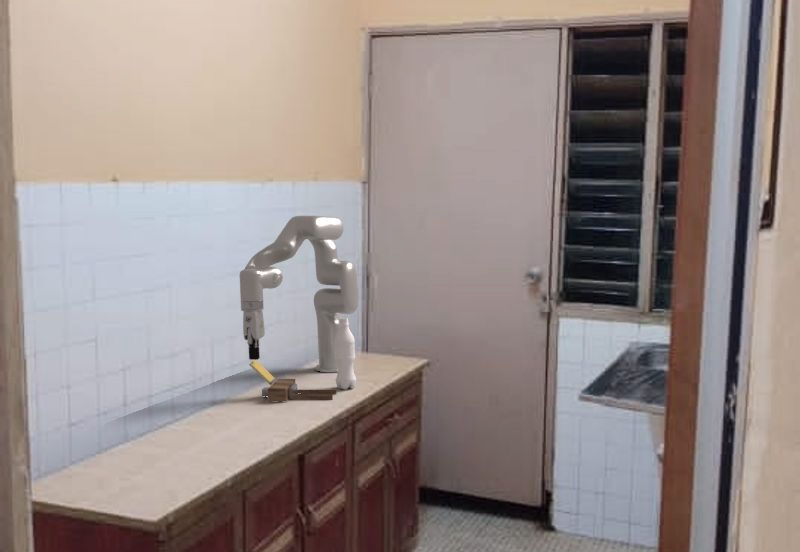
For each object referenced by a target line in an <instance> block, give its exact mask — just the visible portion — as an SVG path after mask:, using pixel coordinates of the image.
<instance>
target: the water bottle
mask: <svg viewBox="0 0 800 552" xmlns="http://www.w3.org/2000/svg"><path fill="white" fill-rule="evenodd" d="M339 320H340V322H339V323H340V324H339V325H340V327H339V330H338V333H337V335H336V337H335V341H334V343H335V358H336V361H337V365H338V372H337V375H336V379H335V383H336V387H337V388H338V390H341V389H342V390H344V391H346V390H347V391H348V389H349V388H350V389H354V388H355V386H356V384H357V377H356V374H355V371H354V362H355V359H356V349H355V348H356V346H355V342H356V340H355V337H354V335H353V333H352V332H351V330H350V327H349V325H350V323H349V318H348V317H347V316H345V317H343V316H342V317H340V319H339Z"/></svg>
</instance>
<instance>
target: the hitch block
mask: <svg viewBox="0 0 800 552" xmlns="http://www.w3.org/2000/svg"><path fill="white" fill-rule="evenodd" d="M293 384H296V378H277V380H276V381H275V382H274V383H273V384H272V385H269V388H268V398H267V399H268V402H269V401H287V400H288V399H289V387H291V386H292V385H293ZM297 392H298V393H301V394H298V395H291V399H310V400H309V401H312V400H314V401H315V400H321V401H324V400H325V401H326V400H327V401H328V400H333V399H334V398H333V397H334V396H333V395H337V389H297ZM291 399H289V400H291ZM289 400H288V401H289ZM288 401H287V402H288Z"/></svg>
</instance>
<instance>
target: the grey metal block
mask: <svg viewBox="0 0 800 552" xmlns="http://www.w3.org/2000/svg"><path fill="white" fill-rule="evenodd" d="M269 387H270V386H269ZM269 387H267V386H266V387H263V388H262V389H261V397H262V396H265V397H266V396H268V388H269ZM297 390H298V383H295V384H293V385H292V386H291V387H289V398H291V395H297V394H298V392H297ZM298 395H299V394H298Z"/></svg>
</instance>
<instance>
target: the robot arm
mask: <svg viewBox="0 0 800 552" xmlns="http://www.w3.org/2000/svg"><path fill="white" fill-rule="evenodd" d="M343 233H344V224H343V221H342V220H341V219H340V218H338V217H337V216H321V215H296V216H292V217H291V218H290V219H289V220H288V221H287V223H286V224H285V225H284V228H282V230H281V231H280V233H279V235H278V236H277V238H276V239H275V240H274V241H273V242H272V243H271V244H269V245H267V246H265V247H264V248H263V249H261V250H259V251H257V252H256V253H255V254H254V255H253V256H252V257H251V258H250V260H249V261H248V263H247V264H246V266H245V268H244V269H242V270H241V271H239V293H240V295H239V297H240V311H241V312H243V313H242V314H243V315H242V316H243V317H242V325H243V326H242V329H243V333H242V334H243V339H244V340H245V341H247V342H246V343H247V345H248V359H249V360H252V361H254V360H256V361H257V360H259V359H260V358H261V357H260V339H262V338H263V337H264V336H265V335H266V332H265V321H264V320H265V319H264V312H263V311H264V293H263V292H264V291H263V290H264V289H271V290H272V289H275V288H276V289H277V287H279V286H280V285H281V284H282V282H283V279H284V277H283V273H282V271H281V270H280V269H279V268H277V267H274V266H273V265H275V264H279V263H282V262H284V261H288V260H289V259H293V257H294V256H295V255H296V254H297V252H298V251H299V249H300V247H301V246H302V244H303V243H304V241H306V240H308V241H309V242H310V243H311V245H312V247H313V250H314V260H315V261H314V262H315V275H316V280H317V283H319V284H320V285H322V286H323V285H324V286H339V288H333V287H331V288H330V287H329V288H328V287H326V288H321V289H319V290H318V291H316V293H315V294H314V295H313V305H314V310H315V315H316V322H317V323H316V324H317V344H318V345H317V347H318V348H317V349H318V365H316V366H315V367H314V369H315V371H316V372H318V371H320V373H338V365H337V361H336V358H335V343H334V341H335V337H336V335H337V333H338V330H339V327H340V325H339V324H340V323H339V322H340V320H339V319H340V318H341V317H340V316H339V315H351V314H354V313H355V312H356V311H357V309H358V305H359V290H358V289H359V288H358V273H357V269H356V267H355V265H354V264H353V262H351V261H348V260H339V258H338V250H337V249H338V248H337V245H336V243H335V241H336V240H338V239H340V238H341V237H342V236H343Z"/></svg>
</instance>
